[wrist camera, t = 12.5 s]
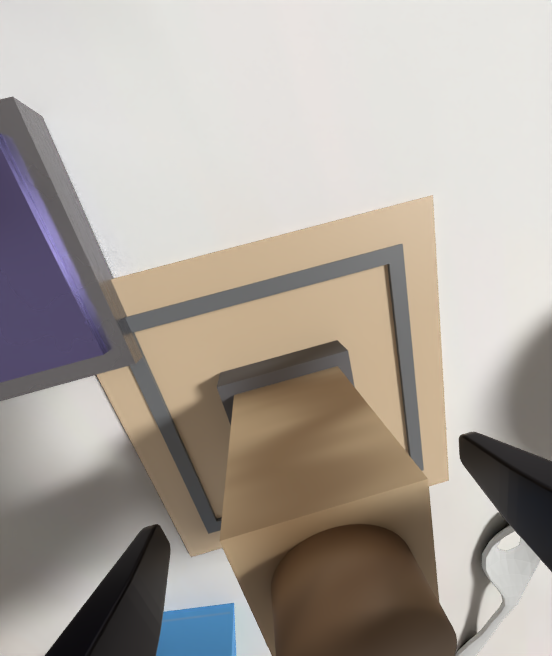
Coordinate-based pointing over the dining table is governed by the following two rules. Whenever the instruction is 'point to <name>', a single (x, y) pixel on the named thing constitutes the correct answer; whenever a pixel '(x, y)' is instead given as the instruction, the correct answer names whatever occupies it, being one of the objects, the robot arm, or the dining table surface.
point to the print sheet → (280, 345)
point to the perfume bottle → (198, 632)
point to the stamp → (326, 515)
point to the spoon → (503, 583)
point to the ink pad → (50, 270)
